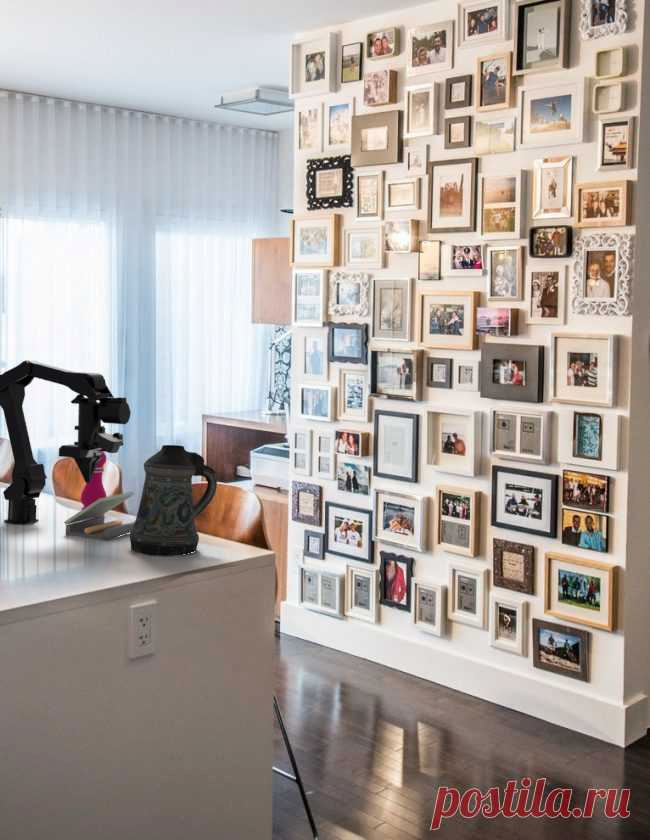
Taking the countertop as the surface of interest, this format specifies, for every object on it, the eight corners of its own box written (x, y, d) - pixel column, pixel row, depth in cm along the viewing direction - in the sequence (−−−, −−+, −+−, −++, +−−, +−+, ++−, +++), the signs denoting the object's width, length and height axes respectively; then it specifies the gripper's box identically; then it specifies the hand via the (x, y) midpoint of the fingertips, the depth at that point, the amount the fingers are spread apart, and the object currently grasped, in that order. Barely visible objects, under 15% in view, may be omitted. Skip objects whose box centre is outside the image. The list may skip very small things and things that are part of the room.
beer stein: (114, 547, 242) (119, 443, 240) (176, 539, 257) (180, 440, 255) (160, 559, 232) (165, 450, 230) (221, 550, 246) (226, 447, 245)
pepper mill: (109, 513, 289) (112, 443, 288) (101, 517, 282) (104, 445, 280) (84, 511, 290) (87, 441, 288) (76, 515, 282) (79, 444, 281)
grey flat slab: (65, 534, 254) (65, 524, 254) (100, 525, 269) (100, 516, 269) (107, 540, 250) (107, 530, 250) (139, 530, 265) (140, 521, 265)
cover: (65, 524, 253) (63, 520, 254) (100, 515, 269) (98, 512, 269) (100, 501, 250) (98, 497, 250) (134, 494, 265) (132, 490, 265)
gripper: (97, 425, 248) (95, 489, 249) (135, 422, 265) (134, 481, 266) (58, 423, 251) (56, 485, 252) (98, 419, 269) (97, 478, 270)
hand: (88, 482), depth 260 cm, fingers closed
